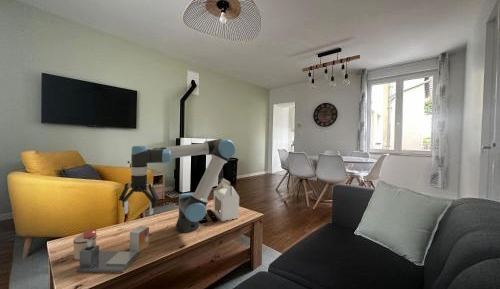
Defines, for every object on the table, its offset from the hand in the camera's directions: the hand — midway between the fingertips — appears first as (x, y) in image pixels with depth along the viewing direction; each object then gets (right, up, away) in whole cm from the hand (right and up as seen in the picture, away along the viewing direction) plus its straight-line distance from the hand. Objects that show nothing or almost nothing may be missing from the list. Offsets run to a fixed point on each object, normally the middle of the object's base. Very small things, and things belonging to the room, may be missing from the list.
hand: (138, 213), depth 110 cm
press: (-6, -19, -13) cm, 24 cm away
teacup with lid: (-24, -18, -6) cm, 31 cm away
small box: (0, -19, 0) cm, 19 cm away
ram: (-14, -13, -16) cm, 25 cm away
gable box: (+41, -19, +52) cm, 68 cm away
